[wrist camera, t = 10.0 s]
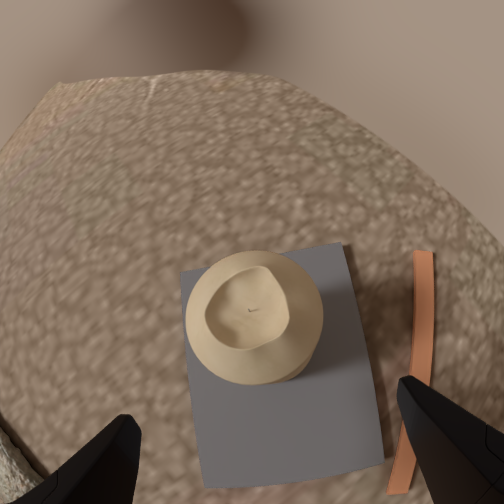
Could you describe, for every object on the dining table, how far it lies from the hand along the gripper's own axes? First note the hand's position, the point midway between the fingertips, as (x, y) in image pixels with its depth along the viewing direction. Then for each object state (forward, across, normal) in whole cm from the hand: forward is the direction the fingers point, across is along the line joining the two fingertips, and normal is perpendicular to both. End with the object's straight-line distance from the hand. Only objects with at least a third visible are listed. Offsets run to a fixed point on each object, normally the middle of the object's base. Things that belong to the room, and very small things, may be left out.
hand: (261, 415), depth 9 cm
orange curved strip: (+8, -10, +8) cm, 15 cm away
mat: (+9, 0, +6) cm, 11 cm away
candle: (+10, 0, +5) cm, 11 cm away
